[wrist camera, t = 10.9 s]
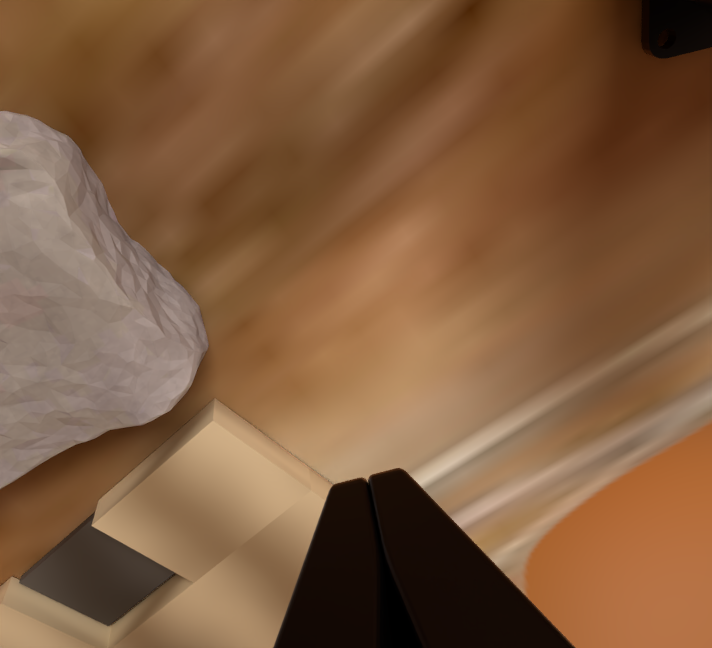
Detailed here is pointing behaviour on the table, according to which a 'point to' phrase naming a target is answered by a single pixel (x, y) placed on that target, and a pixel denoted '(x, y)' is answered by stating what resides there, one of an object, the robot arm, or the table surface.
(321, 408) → the table surface
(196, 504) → the trap board
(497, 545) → the table surface
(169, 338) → the stone block
